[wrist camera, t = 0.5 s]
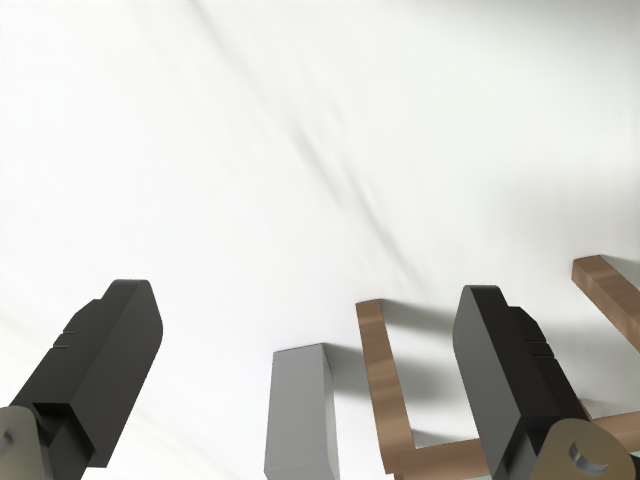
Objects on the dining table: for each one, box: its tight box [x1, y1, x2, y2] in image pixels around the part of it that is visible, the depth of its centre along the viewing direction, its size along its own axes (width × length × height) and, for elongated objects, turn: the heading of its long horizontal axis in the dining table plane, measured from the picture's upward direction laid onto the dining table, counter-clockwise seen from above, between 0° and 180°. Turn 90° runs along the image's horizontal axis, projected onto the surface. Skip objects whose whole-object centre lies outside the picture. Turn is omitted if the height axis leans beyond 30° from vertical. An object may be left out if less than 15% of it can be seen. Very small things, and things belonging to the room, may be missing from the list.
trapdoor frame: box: [355, 255, 640, 480], centre depth 34 cm, size 20×20×14 cm
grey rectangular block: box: [264, 344, 340, 480], centre depth 34 cm, size 4×4×11 cm
